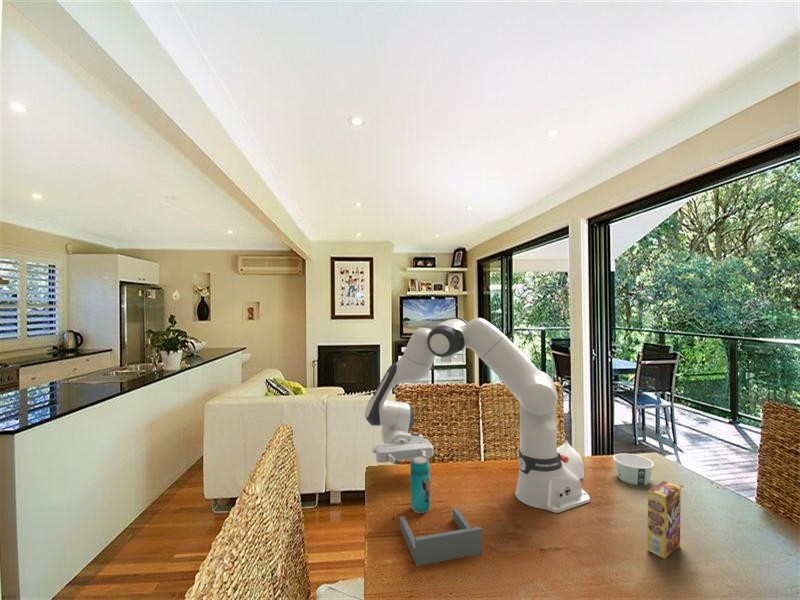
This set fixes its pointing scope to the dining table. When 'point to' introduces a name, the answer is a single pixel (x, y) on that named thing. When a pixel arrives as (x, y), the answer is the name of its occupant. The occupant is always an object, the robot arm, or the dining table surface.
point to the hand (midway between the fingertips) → (410, 460)
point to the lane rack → (444, 542)
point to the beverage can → (420, 484)
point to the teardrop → (572, 460)
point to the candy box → (663, 519)
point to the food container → (633, 468)
